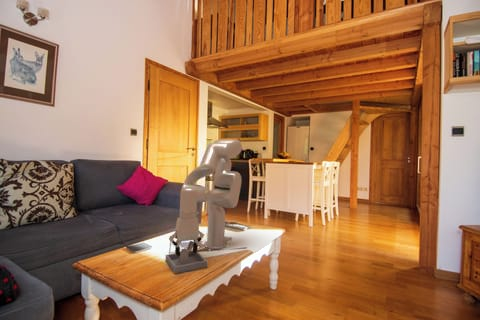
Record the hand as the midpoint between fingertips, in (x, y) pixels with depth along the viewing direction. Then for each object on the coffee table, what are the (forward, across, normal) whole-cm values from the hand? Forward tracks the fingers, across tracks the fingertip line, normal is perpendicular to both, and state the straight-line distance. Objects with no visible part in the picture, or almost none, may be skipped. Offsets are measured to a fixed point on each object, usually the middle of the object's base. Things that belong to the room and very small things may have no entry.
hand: (186, 253), depth 114 cm
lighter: (+3, 0, 0) cm, 3 cm away
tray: (+5, 0, 0) cm, 5 cm away
